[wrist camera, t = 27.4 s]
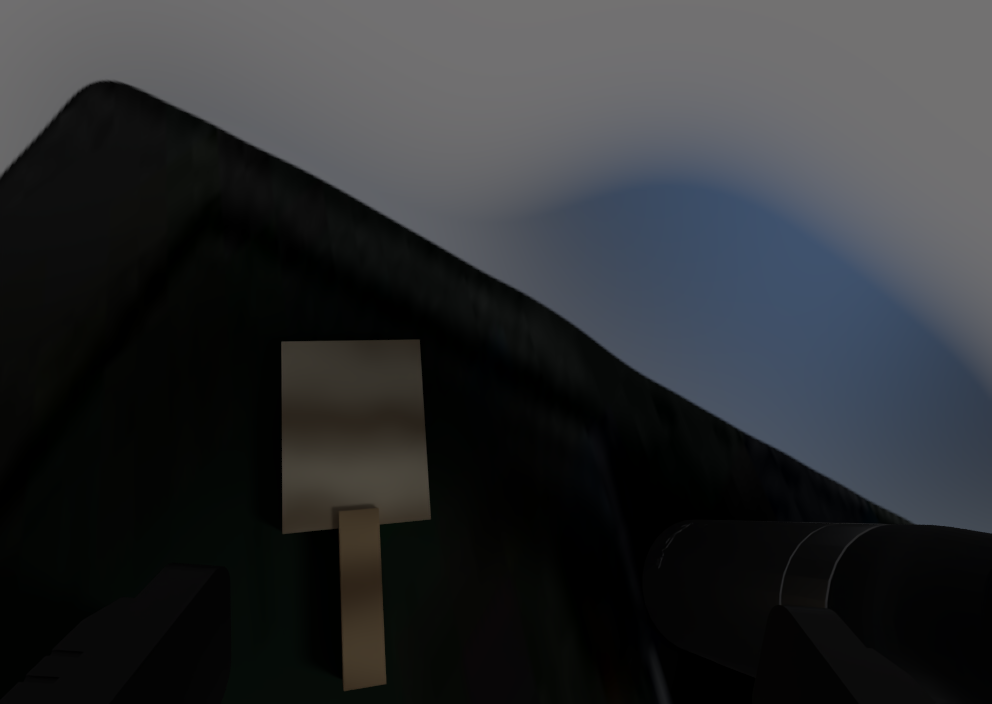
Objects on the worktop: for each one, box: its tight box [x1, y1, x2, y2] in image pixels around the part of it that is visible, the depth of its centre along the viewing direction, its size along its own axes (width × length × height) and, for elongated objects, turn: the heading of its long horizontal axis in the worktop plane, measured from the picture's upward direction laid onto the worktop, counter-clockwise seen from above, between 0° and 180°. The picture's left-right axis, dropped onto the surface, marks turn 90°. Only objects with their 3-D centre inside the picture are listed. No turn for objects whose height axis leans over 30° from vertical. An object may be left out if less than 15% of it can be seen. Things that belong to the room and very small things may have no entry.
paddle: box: [281, 340, 431, 691], centre depth 39 cm, size 21×9×2 cm, turn 5°
